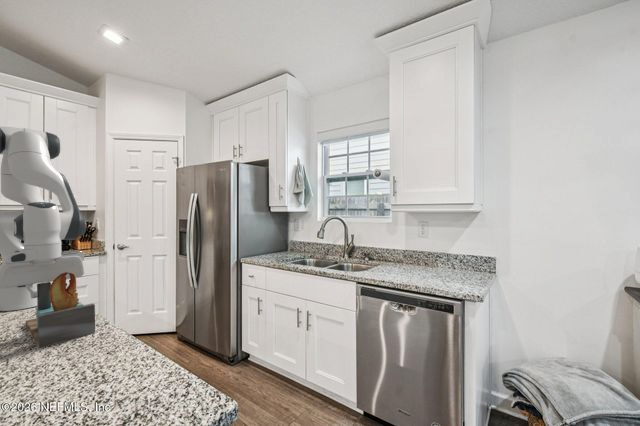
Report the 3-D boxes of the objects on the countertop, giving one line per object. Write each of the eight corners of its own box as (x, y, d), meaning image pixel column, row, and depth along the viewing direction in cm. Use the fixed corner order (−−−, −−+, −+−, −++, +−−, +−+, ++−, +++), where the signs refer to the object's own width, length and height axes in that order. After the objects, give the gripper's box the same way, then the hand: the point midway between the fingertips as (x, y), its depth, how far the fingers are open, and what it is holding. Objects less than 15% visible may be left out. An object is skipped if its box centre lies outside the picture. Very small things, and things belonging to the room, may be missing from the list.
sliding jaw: (36, 327, 94) (35, 283, 94) (77, 317, 102) (77, 277, 102) (40, 333, 90) (39, 287, 89) (83, 322, 98) (82, 280, 98)
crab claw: (50, 341, 88) (49, 275, 87) (49, 336, 91) (47, 272, 91) (80, 334, 93) (79, 271, 92) (78, 329, 96) (76, 268, 96)
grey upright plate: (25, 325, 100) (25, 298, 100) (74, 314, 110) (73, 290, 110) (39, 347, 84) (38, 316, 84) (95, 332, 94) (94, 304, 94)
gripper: (81, 248, 104) (82, 287, 104) (-5, 256, 88) (-4, 302, 88) (86, 250, 100) (87, 290, 100) (-3, 258, 84) (-2, 306, 84)
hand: (44, 296), depth 94 cm, fingers closed on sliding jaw, 3 cm apart
